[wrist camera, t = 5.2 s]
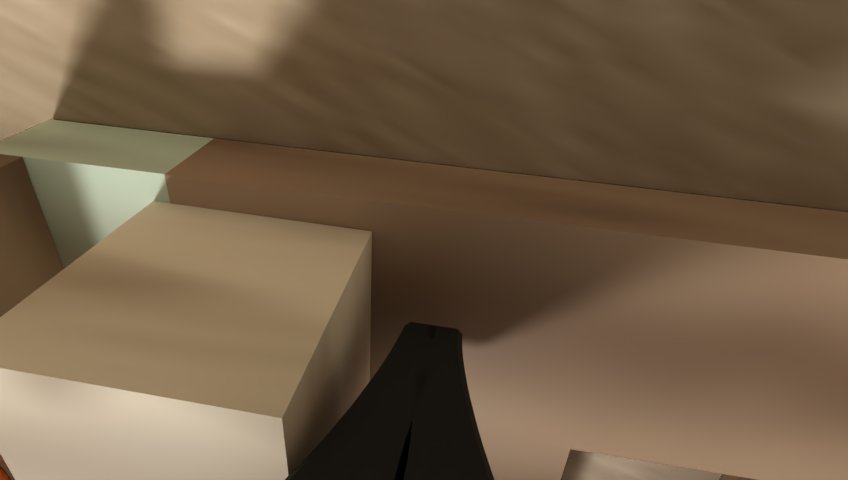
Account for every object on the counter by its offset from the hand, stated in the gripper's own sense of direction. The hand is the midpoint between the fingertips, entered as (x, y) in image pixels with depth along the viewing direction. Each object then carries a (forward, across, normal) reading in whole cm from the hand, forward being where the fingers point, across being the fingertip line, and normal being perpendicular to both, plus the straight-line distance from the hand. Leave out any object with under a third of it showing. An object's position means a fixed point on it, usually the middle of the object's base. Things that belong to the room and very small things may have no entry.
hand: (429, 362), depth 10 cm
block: (+1, +4, 0) cm, 4 cm away
